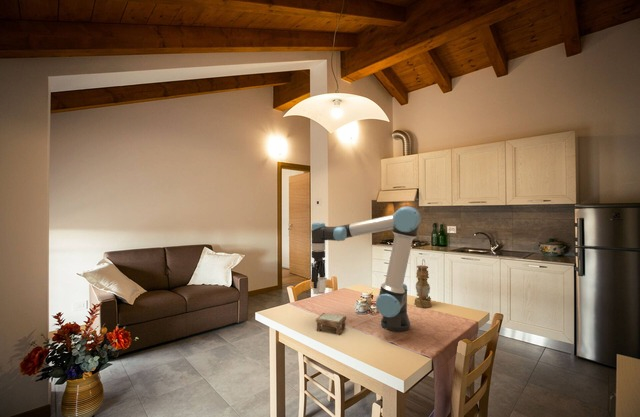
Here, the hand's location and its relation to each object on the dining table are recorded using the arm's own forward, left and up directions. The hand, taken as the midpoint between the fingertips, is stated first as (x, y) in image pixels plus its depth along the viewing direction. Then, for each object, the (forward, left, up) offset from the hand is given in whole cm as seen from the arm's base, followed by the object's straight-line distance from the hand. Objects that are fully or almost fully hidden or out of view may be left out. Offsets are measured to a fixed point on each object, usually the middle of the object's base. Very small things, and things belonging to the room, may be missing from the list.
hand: (318, 292), depth 167 cm
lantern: (-51, -53, -17) cm, 76 cm away
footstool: (-10, +7, -16) cm, 20 cm away
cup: (0, 0, -1) cm, 1 cm away
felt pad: (-10, +7, -10) cm, 16 cm away
